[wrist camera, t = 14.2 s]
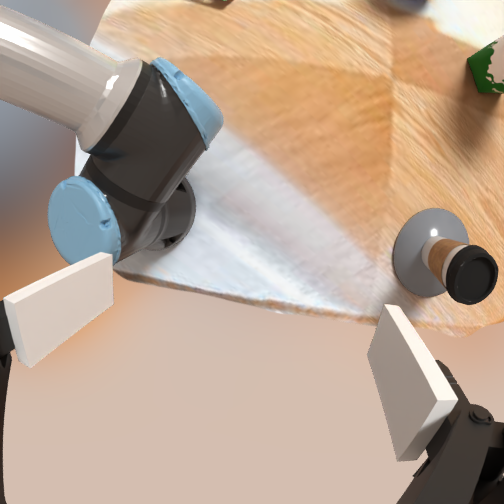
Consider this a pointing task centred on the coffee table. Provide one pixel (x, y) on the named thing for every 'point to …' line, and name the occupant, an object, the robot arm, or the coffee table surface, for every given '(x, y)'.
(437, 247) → the coffee cup
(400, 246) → the disc
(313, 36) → the coffee table surface
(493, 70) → the milk carton
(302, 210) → the coffee table surface
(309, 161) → the coffee table surface
